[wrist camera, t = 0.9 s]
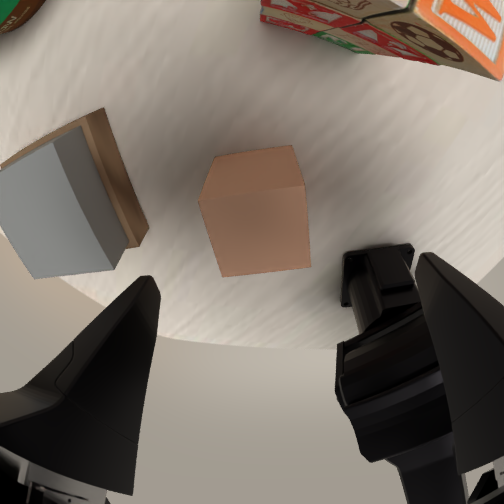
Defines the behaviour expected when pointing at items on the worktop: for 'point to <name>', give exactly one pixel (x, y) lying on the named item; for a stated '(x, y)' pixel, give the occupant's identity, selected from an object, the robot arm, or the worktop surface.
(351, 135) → the worktop surface
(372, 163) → the worktop surface
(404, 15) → the stack of blocks
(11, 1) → the food container
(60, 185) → the tower top
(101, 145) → the tower base
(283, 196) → the terracotta block
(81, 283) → the worktop surface
